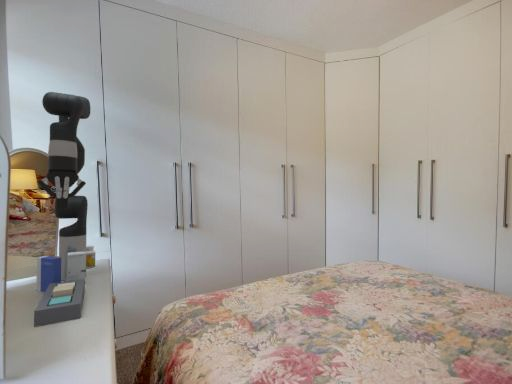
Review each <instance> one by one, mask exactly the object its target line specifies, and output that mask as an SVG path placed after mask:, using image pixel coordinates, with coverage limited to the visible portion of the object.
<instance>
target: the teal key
mask: <svg viewBox="0 0 512 384" xmlns="http://www.w3.org/2000/svg"><path fill="white" fill-rule="evenodd" d="M71 301H72V296H66V297H59V298H53V299H51V301H50V303H49V306H51V305H58V304H64V303H70V302H71Z"/></svg>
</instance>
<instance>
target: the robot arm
mask: <svg viewBox="0 0 512 384" xmlns="http://www.w3.org/2000/svg"><path fill="white" fill-rule="evenodd" d="M41 102H42V106H43V108H44V109H43V110H44V111H46V112H47V114H49V115H52V116H57V117H58V121H56V122H51V124H49V142H48V143H49V144H48V151H47V157H48V162H47V163H48V164H47V165H48V166H47V168H48V169H47V173H46V175H45V177H44V178H42V179H39V180H38V181H37V184H38V185H39V186H40V187H41V188H42V189H43V190H44V192H46V193H47V194H48V195H49V196H50V197H53V198H55V199H54V216H55V218H57V219H61V220H62V219H76V222H74V223H72V224H69V225H68V226H64V227H60V228H59V230H58V256H59V257H61V282H66V277H67V255H68V253H70V252H83V251H86V246H87V221H88V219H87V218H88V216H87V215H88V199H87V196H85V195H77V194H78V193H79V192H80V191H81V190H82V189H83V187H85V185H86V181H83V180H82V179H81V178H80V176H79V173H80V172H81V171H82V169H83V168H84V166H85V161H86V160H85V159H86V158H85V157H86V152H85V151H86V149H85V147H84V145H83V143H82V142H81V140H80V139H79V137H78V136H77V133H78V132H77V131H78V126H79V123H80V120H85V119H89V118H90V115H91V103H90V100H89V99H88V98H87V97H84V96H81V95H75V94H70V93H69V94H67V93H62V92H55V91H48V92H46V93H44V95H43V97H42V101H41ZM49 182H50V184H51V185H52V186H53V187H54V188H55V192H54V191H53V190H52V189H51V187H50V186H49V185H50V184H49ZM74 184H76V185H77V186H76V187H75V188H74V189H73V190H72V191H71V192H70V189H71V187H73V186H74Z"/></svg>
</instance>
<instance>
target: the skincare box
mask: <svg viewBox="0 0 512 384" xmlns="http://www.w3.org/2000/svg"><path fill="white" fill-rule="evenodd" d="M86 276H87V269H86V251H83V252H70V253H68V255H67V277H66V281H74V280H82V279H85V280H86ZM66 281H65V282H66Z"/></svg>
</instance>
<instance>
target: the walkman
mask: <svg viewBox="0 0 512 384" xmlns="http://www.w3.org/2000/svg"><path fill="white" fill-rule="evenodd" d="M59 282H62V281H61V257H59V255H55V256H50V255H42V256H37V257H36V284H35V285H36V287H35V288H36V291H38V292H42V293H43V292H44V293H45V291H46V289H47V287H48V286H49V284H51V283H59Z"/></svg>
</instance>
